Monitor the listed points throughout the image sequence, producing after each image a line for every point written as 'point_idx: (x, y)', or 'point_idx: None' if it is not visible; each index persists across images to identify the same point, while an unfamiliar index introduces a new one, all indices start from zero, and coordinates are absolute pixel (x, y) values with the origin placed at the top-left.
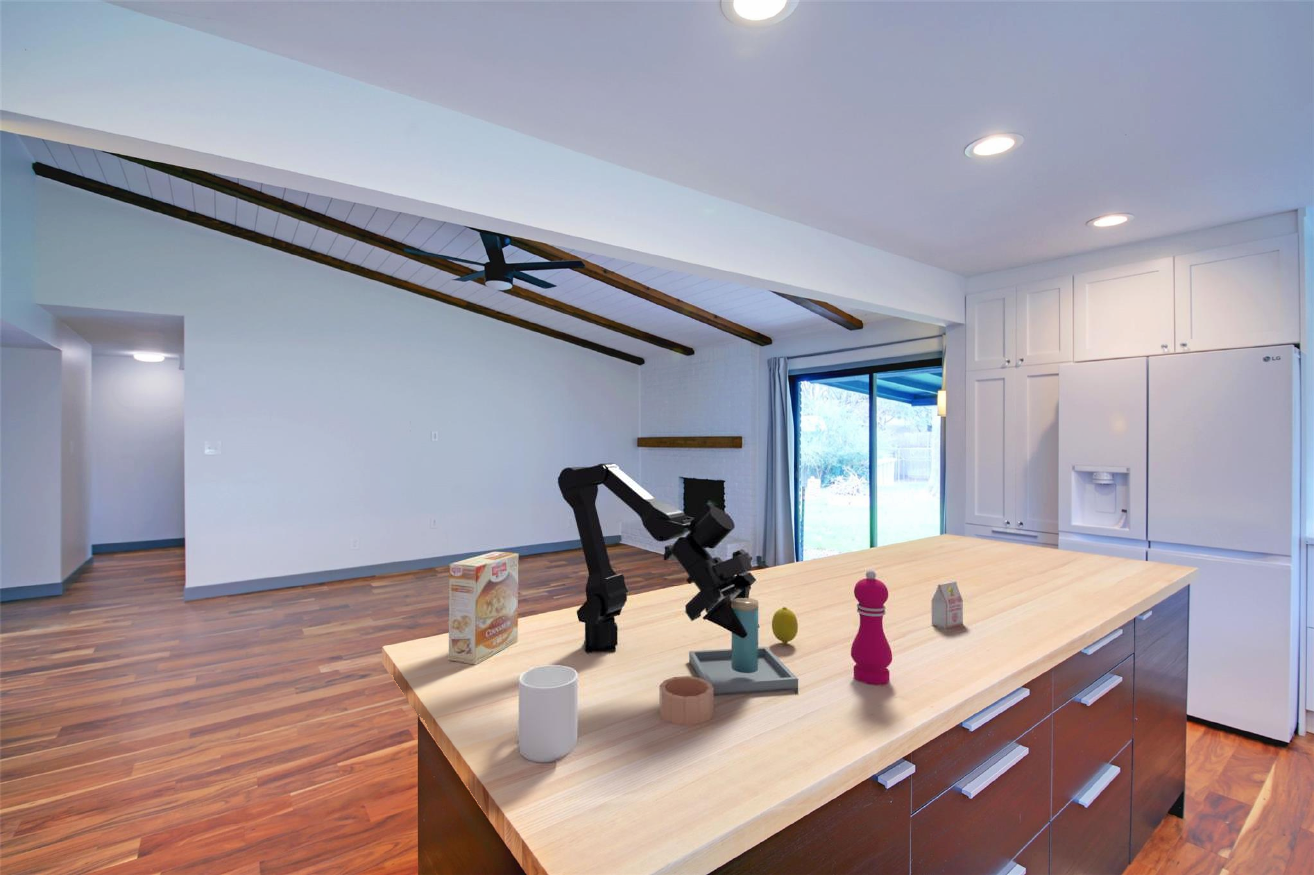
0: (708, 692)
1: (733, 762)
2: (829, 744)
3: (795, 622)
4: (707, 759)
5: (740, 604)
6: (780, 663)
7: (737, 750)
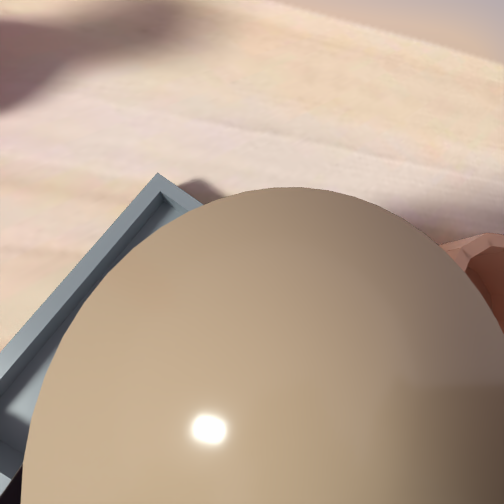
0: (485, 239)
1: (471, 141)
2: (315, 55)
3: None
4: (497, 174)
5: (498, 341)
6: (76, 280)
7: (445, 155)
